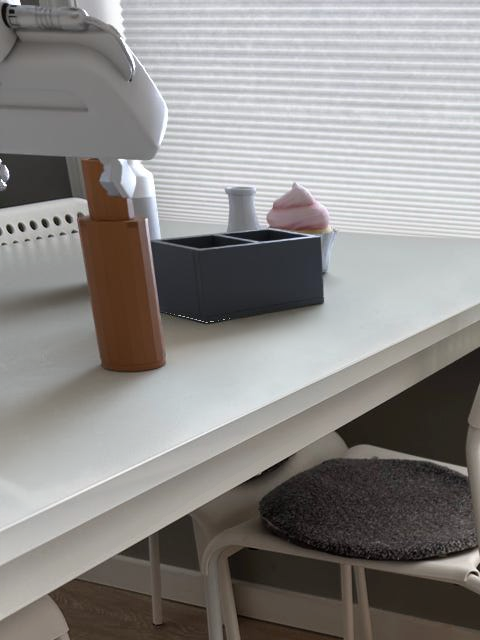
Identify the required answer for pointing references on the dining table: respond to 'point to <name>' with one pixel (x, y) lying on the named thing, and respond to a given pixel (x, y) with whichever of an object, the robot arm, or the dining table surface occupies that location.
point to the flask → (241, 209)
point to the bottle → (120, 278)
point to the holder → (237, 273)
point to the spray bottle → (145, 198)
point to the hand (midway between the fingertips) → (60, 186)
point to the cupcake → (303, 218)
